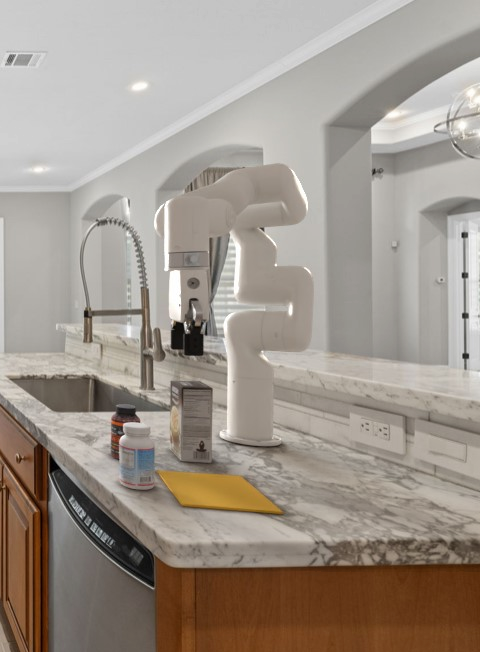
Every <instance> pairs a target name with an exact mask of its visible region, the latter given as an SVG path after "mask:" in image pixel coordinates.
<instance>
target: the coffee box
mask: <svg viewBox="0 0 480 652" xmlns="http://www.w3.org/2000/svg"><path fill="white" fill-rule="evenodd" d="M169 386H170V388H169V389H170V391H169V392H170V394H169V395H170V396H169V399H170V401H169V450H170V451H171V452H172V453H173V454H174V456H175V457H177V459H178V460H179V461H180V462H185V463H205V464H207V463H208V464H212V461H213V460H212V458H213V457H212V456H213V455H212V454H213V408H214V407H213V405H214V404H213V403H214V402H213V401H214V398H213V397H214V393H213V392H214V388H213V387H211V386H210V385H207V384H205V382H202V381H200V380H170V385H169Z"/></svg>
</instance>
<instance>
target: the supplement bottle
mask: <svg viewBox="0 0 480 652" xmlns="http://www.w3.org/2000/svg"><path fill="white" fill-rule="evenodd" d="M136 413H137V408H136V406H135V405H133V404H127V403H121V404H120V403H119V404H116V405H115V413H114V414H113V415H112V416H111V418H110V419H111V420H110V456H111V457H113V458H114V459H117V460H119V440H120V438H121V437H122V436H123V435H125V433H124V432H123V424H124V423H130V422H135V423H141V419H140V417H139V416H138V415H137V414H136Z"/></svg>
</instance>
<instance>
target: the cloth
mask: <svg viewBox="0 0 480 652" xmlns="http://www.w3.org/2000/svg"><path fill="white" fill-rule="evenodd" d="M156 473H157V474H158V476H159V477H160V478H161V480H162V481H163V482H164V484H165V485H166V487H167V488H168V489H169V490H170V492H171V493H172V495H173V496H174V497H175V499H176V500H177V502H178V503H179V505H180V506H181V507H189V508H200V509H201V508H202V509H213V510H226V511H227V510H228V511H238V512H248V513H249V512H251V513H262V514H276V515H277V514H278V515H284V511H282V509H280V508H279V507H278V506H277V505H276V504H275V503H274V502H272V501H271V500H270V499H268V498H267V497H266V496H265V495H264V494H263V493H261V492H260V491H259V490H258V489H257V488H255V487H254V486H253V485H252V484H251V483H250V482H249V481H248V480H246V479H245V478H244V477H243V476H241V475H234V474H219V473H203V472H191V471H175V470H173V471H172V470H162V469H161V470H159V469H157V470H156Z"/></svg>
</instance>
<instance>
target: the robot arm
mask: <svg viewBox="0 0 480 652" xmlns="http://www.w3.org/2000/svg"><path fill="white" fill-rule="evenodd" d="M308 205H309V203H308V199H307V195H306V193H305V191H304V189H303V187H302V184H301V183H300V180H299V178H298V177H297V175H296V173H295V172H294V171H293V169H292V168H291V167H289V165H287V164H285V163H281V162H277V163H269V164H262V165H255V166H249V167H248V166H247V167H242V168H237V169H233V170H231V171H229V172H227V173H225V174H224V175H223V176H222V177H220V178H219V179H217V180H216V181H214V182H213V183H210V184H208V185H205V186H202V187H198V188H197V189H193V190H191V191H188V192H185V193H181V194H179V195H176V196H174V197H171V198H170V199H168V200H167V201H165V202H164V203H163V204H161V205H160V207H159V208H158V210H157V211H156V213H155V216H154V219H153V220H154V222H153V226H154V230H155V233H156V234H157V236H158V237H159V238H160V239H162V240H164V272H169V280H168V282H169V285H168V315H169V316H168V317H169V318H170V320H171V322H170V349H171V350H176V351H179V350H182V351H183V355H184V356H185V357H203V356H204V354H205V353H204V352H205V351H204V350H205V349H204V345H205V340H204V335H205V334H204V333H205V330H204V325H205V324H206V323H208V322H209V320H210V304H209V301H210V300H209V286H208V277H207V271H209V270H210V238H212V239H213V238H220V237H224V236H225V235H227V234H229V235H230V237H231V239H232V242H233V244H234V248H235V263H234V264H235V265H234V278H233V279H234V280H233V295H234V299H235V301H237V302H238V303H239V304H241V305H246V306H259V307H261V306H262V307H263V306H265V307H266V306H267V307H270V306H274V307H286V308H287V310H258V309H256V310H255V309H254V310H253V309H247V310H245V309H244V310H236V311H234V312H231V313H230V314H228V315H227V316H226V317H225V318H224V321H223V335H224V336H223V337H224V341H225V346H226V357H227V385H226V386H227V388H226V390H227V393H226V395H227V397H226V399H227V401H226V429H222V430H220V431H219V437H220V438H221V439H222V440H225V441H227V442H230V443H234V444H238V445H239V444H240V445H244V446H253V447H254V446H255V447H277V446H280V445H281V444H282V438H281V437H280V436H278V435H276V434H274V406H275V405H274V402H275V401H274V399H275V398H274V396H275V395H274V394H275V383H274V382H275V369H274V366H273V364H272V363H271V361H270V360H269V359H268V357H266V355H265V354H264V353H263V352H281V353H302V352H304V351H306V350H308V349H309V347H310V345H311V342H312V337H313V318H314V299H315V284H314V283H315V282H314V278H313V275H312V272H311V271H310V270H309V269H308V268H307V267H305V266H301V265H278V264H277V258H278V246H277V244H276V243H275V242H274V240H273V239H272V237H270V236H269V235H268V234H267V233H266V232H265V231H263V230H262V229H261V228H273V227H274V228H275V227H285V226H286V227H287V226H294V225H297V224H300V223H302V222H303V221H304V220H305V218H306V216H307V214H308V210H309V209H308V208H309V206H308Z"/></svg>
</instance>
